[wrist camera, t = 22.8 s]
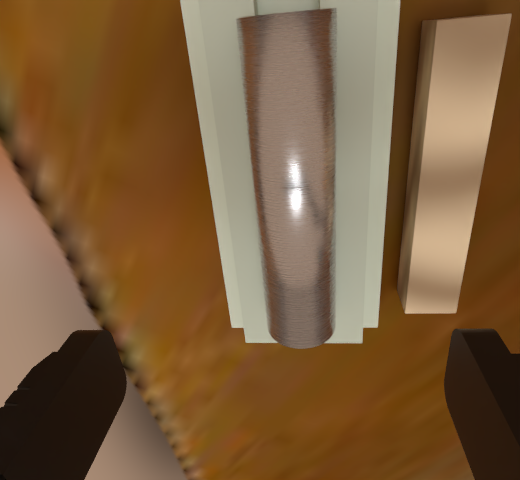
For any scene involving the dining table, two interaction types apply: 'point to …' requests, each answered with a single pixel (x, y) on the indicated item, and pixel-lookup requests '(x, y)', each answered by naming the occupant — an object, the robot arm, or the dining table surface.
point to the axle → (293, 166)
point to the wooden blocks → (447, 154)
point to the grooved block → (347, 151)
